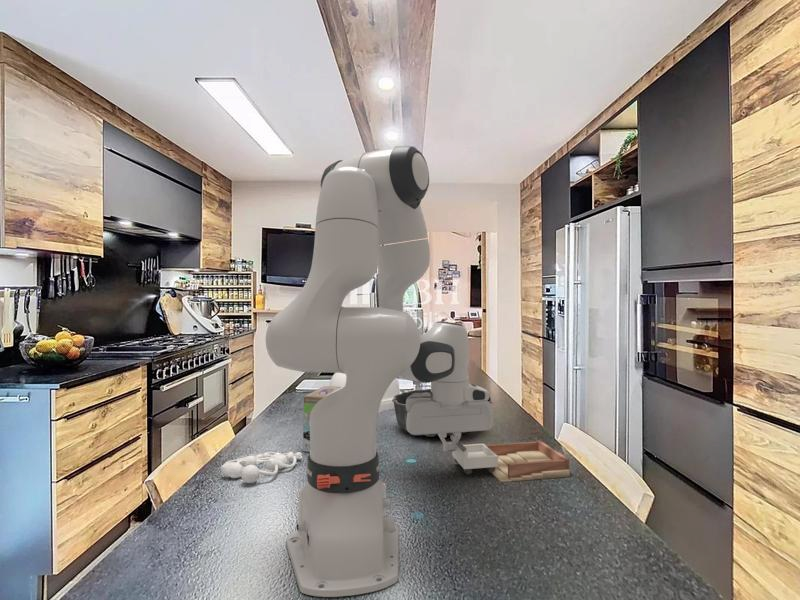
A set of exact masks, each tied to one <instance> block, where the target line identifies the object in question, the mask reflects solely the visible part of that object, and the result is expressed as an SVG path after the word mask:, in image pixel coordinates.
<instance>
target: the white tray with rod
mask: <svg viewBox="0 0 800 600" xmlns="http://www.w3.org/2000/svg"><path fill="white" fill-rule="evenodd" d="M453 437H454V436H453V435H452V436H449V438H450V439H451V441H452V439H453ZM486 445H487V444H485V443H472V444H463V443H461V442H460V440H459V441H458V443H457V444H456V451H451V453H452V454H451V456H452V457H453V459H454V463H456V464H459V465H460V466H461V467H462V469H463V472H464V474H465V475H471V474H472V472H473V469H483V468H484V469H485V468H486V469H487V472H489V473H491V474H492V473H493V472H494V471H495V467H498V456H497V455H496V454H495V453H494V452H493V451H491V450H490V449H489V448H488V447H487V446H486Z"/></svg>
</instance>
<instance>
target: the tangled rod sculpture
mask: <svg viewBox="0 0 800 600" xmlns="http://www.w3.org/2000/svg"><path fill="white" fill-rule="evenodd" d="M302 459H303V456H302V452H298V451H297V452H295V453H294V452H293V451H288V452H287V453H281V452H278V451H277V452H273V451H267V452H264V453H263V454H261V453H259V454H256V455H247V456H244V457H240V458H236V459H232V460H228V461H226V462H225V463H224V464H222V465H221V466H220V471H221V473H223V474H224V475H226V476H228V477H230V478H231V479H239V478H241V480H242V481H243V482H245V483H246V484H253V483H255V482H256V481H257V480H258V479H259V477H260V475H264V476H270V477H271V476H275V475H277V474H278V472H279V470H283V468H284V469H286V468H287V469H291V468H293V467H295V466H296V463H297V460H302ZM288 461H292V463H291V464H288ZM262 463H264V464H265V468H266V469H267V470H269V471H265V470H261V469H259V468H258V465H259V464H262ZM242 464H244V466H243V465H242Z"/></svg>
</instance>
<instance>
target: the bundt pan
mask: <svg viewBox="0 0 800 600" xmlns="http://www.w3.org/2000/svg"><path fill="white" fill-rule="evenodd" d="M401 392H402V393H401V394H397V395H395V396H394V397H393V399H392V402H394V407H395V409H394V412H395V417H396V423H397V424H398V426H399V427H401V429H403V430H404V431H406V432H408V430H407V428H406V420H407V412H408V411H407V410H406V399H407V398H408V397H409V396H410V395H412V394H413V393H425V392H431V388H426V389H414V390H410V391H401ZM410 398H413V397H410ZM408 433H409V432H408ZM466 433H467V432H461V435H464V434H466ZM452 435H453V436H454V434H453V433H447V436H448V437H450V436H452ZM417 436H418V437H423V436H426V437H427V438H433V437H437V436H438V437H439V435H438V433H437V434H421V435H416V437H417Z"/></svg>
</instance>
